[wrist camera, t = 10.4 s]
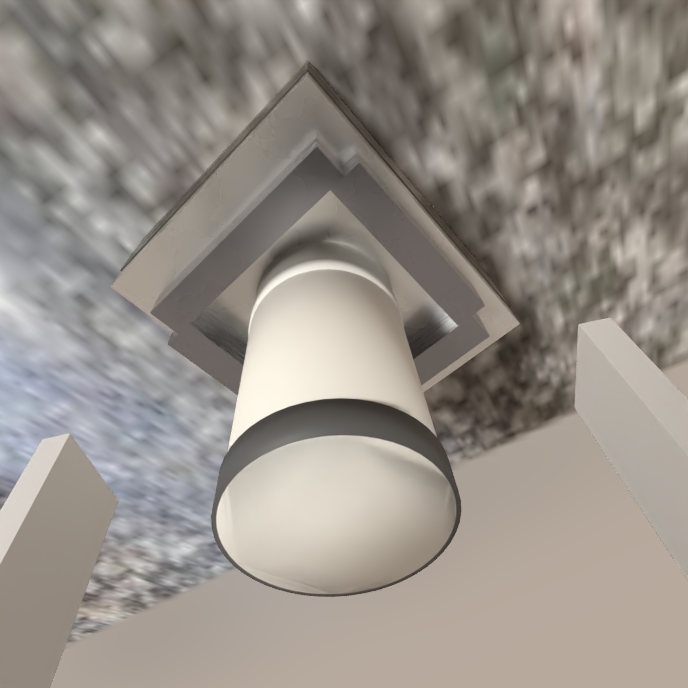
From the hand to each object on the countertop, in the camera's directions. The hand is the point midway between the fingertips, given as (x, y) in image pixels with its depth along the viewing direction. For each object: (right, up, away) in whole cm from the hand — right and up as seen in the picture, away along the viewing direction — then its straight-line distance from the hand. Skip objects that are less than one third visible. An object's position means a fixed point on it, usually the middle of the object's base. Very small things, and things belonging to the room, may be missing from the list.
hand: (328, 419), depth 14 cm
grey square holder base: (-1, +7, +11) cm, 13 cm away
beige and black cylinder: (0, +3, +6) cm, 7 cm away
